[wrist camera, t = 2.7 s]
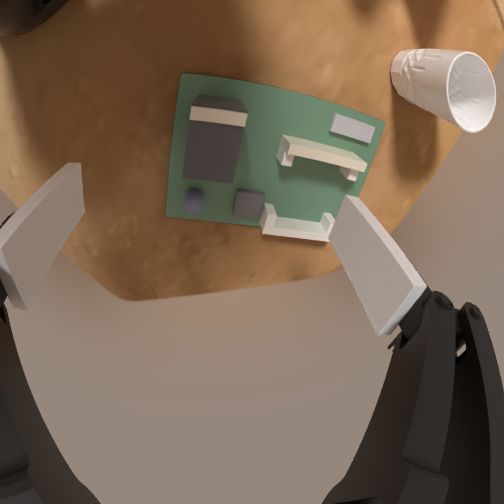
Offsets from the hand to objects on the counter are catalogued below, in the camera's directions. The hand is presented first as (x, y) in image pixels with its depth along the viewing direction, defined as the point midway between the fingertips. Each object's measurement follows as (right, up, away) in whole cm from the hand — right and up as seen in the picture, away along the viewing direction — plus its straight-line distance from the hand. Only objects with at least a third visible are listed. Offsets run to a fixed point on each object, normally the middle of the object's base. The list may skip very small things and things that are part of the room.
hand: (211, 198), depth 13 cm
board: (+4, +7, +16) cm, 18 cm away
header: (+8, +5, +17) cm, 20 cm away
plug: (-2, +10, +12) cm, 16 cm away
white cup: (+20, +18, +10) cm, 28 cm away
